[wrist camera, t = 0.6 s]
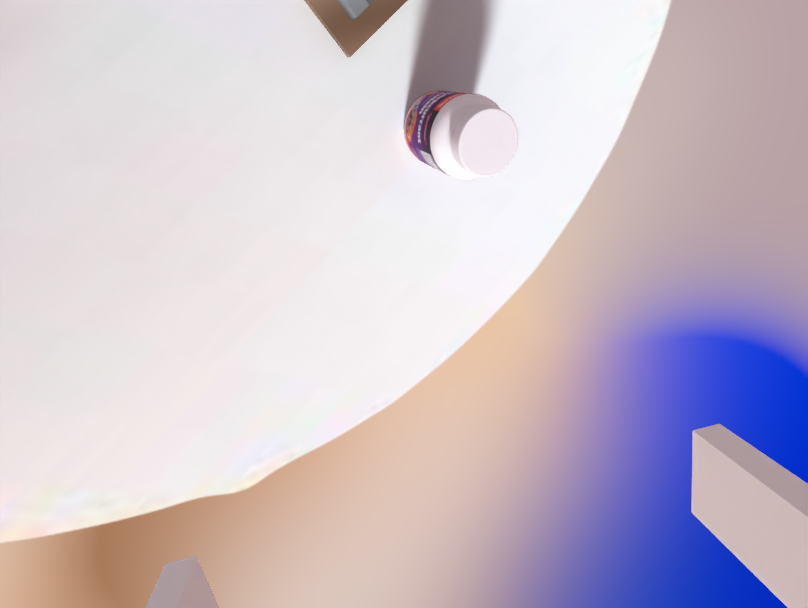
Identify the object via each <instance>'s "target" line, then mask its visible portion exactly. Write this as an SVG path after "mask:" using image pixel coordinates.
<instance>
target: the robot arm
mask: <svg viewBox="0 0 808 608" xmlns="http://www.w3.org/2000/svg"><path fill="white" fill-rule="evenodd" d="M692 446H693V447H692V450H693V451H692V513H693V514H694V515H695V516H696V517H697V518H698V519H699V520H700V521H701V522H702V523H703V524H704V525H705V526H706V527H707V528H708V529H709V530H710V531H711V532H712V533H713V534H714V535H715V536H716V537H717V538H718V539H719V540H720V541H721V542H722V543H723V544H724V545H725V546H726V547H727V548H728V549H729V550H730V551H731V552H732V553H733V554H734V555H735V556H736V557H737V558H738V559H739V560H740V561H741V562H742V563H743V564H744V565H745V566H746V567H747V568H748V569H749V570H750V571H751V572H752V573H753V574H754V575H755V576H756V577H758V579H759V580H760V581H762V583H763V584H764V585H765V586H766V587H767V588H769V590H770V591H771V592H772V593H773V594H774V595H776V596H777V597H778V598H779V599H780V600H781V601H782V602H783V603H784V604H785V605H786V606H787V607H788V608H808V484H807V483H806V482H804V481H803V480H801V479H800V478H798V477H797V476H795V475H794V474H792V473H791V472H789V471H788V470H786V469H785V468H784V467H782V466H781V465H779V464H778V463H776V462H775V461H773V460H772V459H770V458H769V457H767V456H766V455H764V454H763V453H762V452H760V451H759V450H757V449H756V448H754V447H753V446H751V445H750V444H748V443H747V442H745V441H744V440H742V439H741V438H739V437H738V436H737V435H735V434H734V433H732V432H731V431H729V430H728V429H726V428H725V427H723V426H722V425H720V424H716V425H712V426H709V427H705V428H701V429H697V430H693V442H692ZM146 608H219V607H218V604H217V602H216V600H215V597H214V595H213V593H212V591H211V589H210V586H209V584H208V581H207V579H206V577H205V574H204V572H203V570H202V567H201V565H200V563H199V561H198V559H197V556H195V557H191V558H187V559H183V560H179V561H175V562H171V563H167V564H165V565H164V568H163V570H162V572H161V575H160V577H159V579H158V581H157V583H156V586H155V588H154V590H153V593H152V595H151V597H150V599H149V602H148V603H147V606H146Z"/></svg>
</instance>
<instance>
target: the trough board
mask: <svg viewBox="0 0 808 608" xmlns="http://www.w3.org/2000/svg"><path fill="white" fill-rule="evenodd" d="M406 1H407V0H305V2H306V3H307V4H308V6H309V7H310V8H311V10H312V11H313V12H314V14H315V15H316V16H317V17H318V19H319V20H320V21H321V23H322V24H323V25H324V27H325V28H326V29H327V31H328V32H329V33H330V34H331V36H332V37H333V38H334V40H335V41H336V42H337V44H338V45H339V46H340V48H341V49H342V50H343V51H344V53H345V54H346V55H347V57H351V56H352V55H353V54H354V53H355V52H356V51H357V50H358V49H359V48H360V47H361V46H362V45H363V44H364V43H365V42H366V41H367V40H368V39H369V38H370V37H371V36H372V35H373V34H374V33H375V32H376V31H377V30H378V29H379V28H380V27H381V26H382V25H383V24H384V23H385V22H386V21H387V20H388V19H389V18H390V17H391V16H392V15H393V14H394V13H395V12H396V11H397V10H398V9H399V8H400V7H401V6H402V5H403V4H404V3H405V2H406Z"/></svg>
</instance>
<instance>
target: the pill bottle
mask: <svg viewBox="0 0 808 608" xmlns="http://www.w3.org/2000/svg"><path fill="white" fill-rule="evenodd" d="M404 137H405V141H406V144H407V146H408V148H409V150H410V151H411V153H412V154H413V155H414V156H415V157H416V158H417V159H419V160H420V161H422V162H424V163H426V164H428V165H429V166H431V167H433V168H435V169H437V170H439V171H441V172H443V173H445V174H447V175H449V176H451V177H454V178H457V179H462V180H470V179H475V178H478V177H481V176H482V177H487V176H492V175H495V174H497V173H499V172H501V171H502V170H503V169H505V168H506V167H507V166H508V165H509V163H510V162H511V161H512V159H513V157H514V155H515V153H516V150H517V146H518V131H517V127H516V124H515V122H514V120H513V119H512V118H511V116H510V115H509V114H508V113H506V112H505V111H503V110H501V109H500V108H499V106H498V105H497V104H496V103H495V102H493V101H492V100H491V99H489V98H487V97H485V96H482V95H478V94H472V93H456V92H446V91H434V92H430V93H427V94H424V95H423V96H421V97H420V98H419V99H417V100H416V101H415V102H414V103H413V105H412V106H411V107H410V109H409V111H408V113H407V116H406V119H405V123H404Z"/></svg>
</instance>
